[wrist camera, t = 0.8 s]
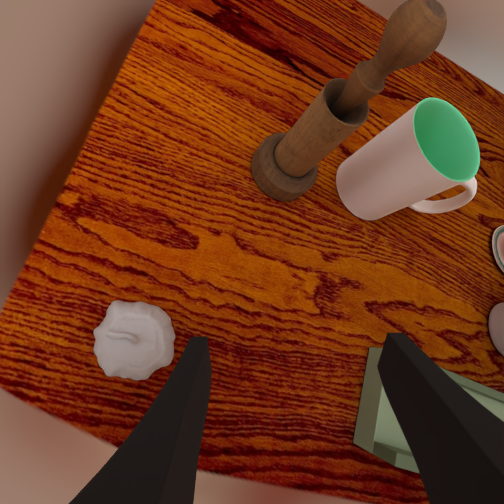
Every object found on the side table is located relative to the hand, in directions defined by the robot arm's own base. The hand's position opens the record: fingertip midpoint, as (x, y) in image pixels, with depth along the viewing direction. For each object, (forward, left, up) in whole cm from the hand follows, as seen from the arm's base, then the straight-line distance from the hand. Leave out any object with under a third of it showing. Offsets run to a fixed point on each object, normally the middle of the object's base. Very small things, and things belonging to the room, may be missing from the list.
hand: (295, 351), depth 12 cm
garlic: (-4, +5, -15) cm, 16 cm away
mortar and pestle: (+17, +4, -15) cm, 23 cm away
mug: (+24, -7, -15) cm, 29 cm away
